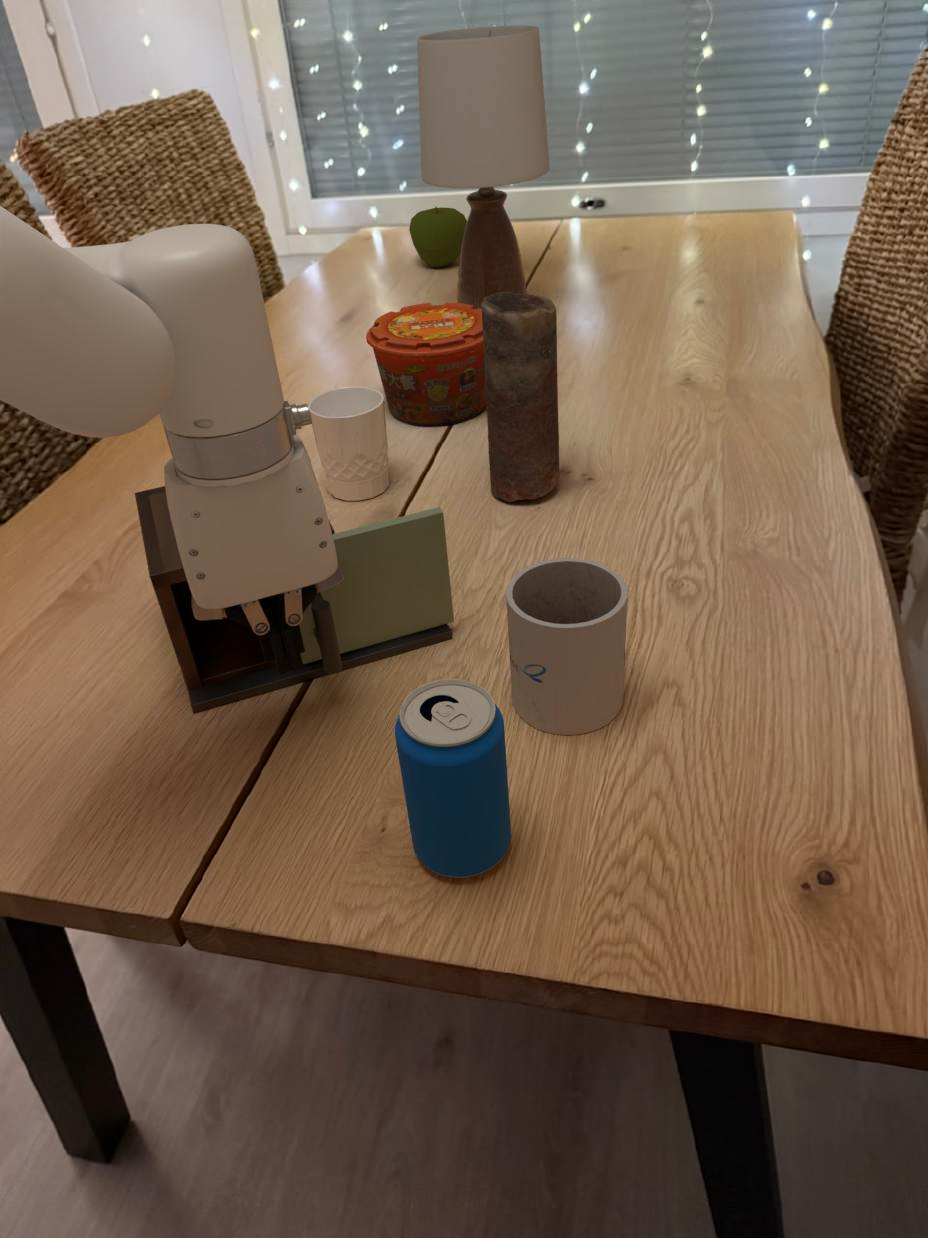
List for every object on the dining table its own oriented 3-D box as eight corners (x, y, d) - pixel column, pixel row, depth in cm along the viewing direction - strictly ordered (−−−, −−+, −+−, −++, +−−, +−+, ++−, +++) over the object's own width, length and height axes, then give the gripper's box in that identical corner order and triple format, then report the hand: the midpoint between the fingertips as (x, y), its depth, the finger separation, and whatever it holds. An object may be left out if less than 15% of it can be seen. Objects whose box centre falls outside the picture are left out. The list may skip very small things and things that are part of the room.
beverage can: (465, 792, 64) (451, 659, 57) (532, 843, 60) (526, 708, 53) (394, 845, 61) (369, 712, 54) (459, 903, 57) (442, 767, 50)
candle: (508, 467, 102) (499, 284, 90) (570, 477, 100) (569, 289, 88) (479, 499, 97) (465, 310, 85) (543, 511, 94) (539, 316, 82)
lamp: (559, 288, 151) (556, 20, 129) (541, 328, 136) (534, 35, 114) (449, 288, 155) (428, 29, 133) (420, 327, 141) (391, 44, 118)
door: (317, 703, 71) (292, 589, 65) (300, 658, 76) (275, 547, 69) (476, 656, 74) (467, 543, 68) (450, 616, 79) (439, 506, 73)
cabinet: (193, 713, 73) (151, 590, 66) (171, 606, 85) (134, 492, 78) (452, 638, 78) (440, 516, 71) (397, 547, 91) (381, 436, 83)
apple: (457, 274, 161) (453, 214, 155) (403, 272, 164) (396, 213, 158) (479, 256, 169) (475, 198, 163) (426, 254, 172) (421, 197, 166)
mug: (636, 726, 68) (641, 619, 62) (521, 742, 68) (516, 635, 62) (598, 627, 78) (599, 526, 72) (497, 640, 78) (491, 540, 72)
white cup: (364, 463, 106) (351, 380, 100) (409, 483, 101) (399, 397, 95) (309, 489, 102) (292, 404, 96) (354, 512, 97) (339, 424, 91)
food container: (403, 444, 109) (392, 356, 102) (359, 398, 121) (347, 316, 114) (523, 412, 113) (520, 326, 107) (470, 371, 125) (464, 291, 119)
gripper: (330, 392, 63) (368, 609, 74) (105, 441, 59) (180, 661, 70) (360, 435, 57) (395, 663, 68) (113, 492, 53) (192, 723, 64)
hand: (286, 662), depth 69 cm, fingers closed
